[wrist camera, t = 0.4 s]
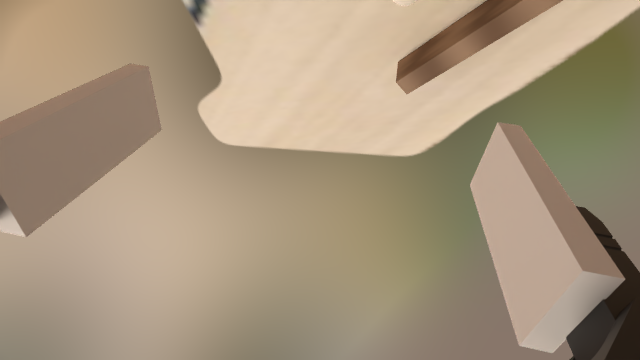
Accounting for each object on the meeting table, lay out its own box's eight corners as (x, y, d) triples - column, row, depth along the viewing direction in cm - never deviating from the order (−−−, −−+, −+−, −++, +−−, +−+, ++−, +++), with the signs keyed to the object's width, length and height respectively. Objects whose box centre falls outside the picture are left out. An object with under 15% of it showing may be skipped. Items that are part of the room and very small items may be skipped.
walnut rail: (613, -87, 26) (632, -71, 23) (621, -65, 27) (640, -47, 24) (398, 62, 39) (396, 82, 36) (408, 73, 40) (406, 94, 37)
